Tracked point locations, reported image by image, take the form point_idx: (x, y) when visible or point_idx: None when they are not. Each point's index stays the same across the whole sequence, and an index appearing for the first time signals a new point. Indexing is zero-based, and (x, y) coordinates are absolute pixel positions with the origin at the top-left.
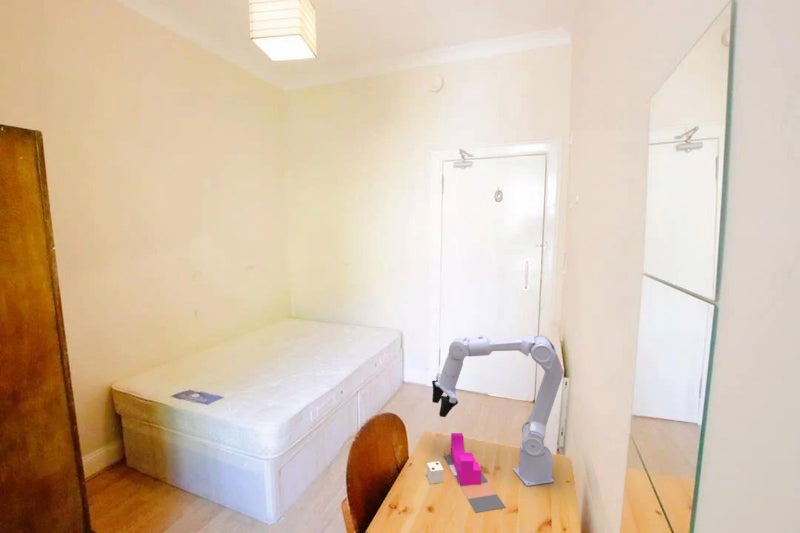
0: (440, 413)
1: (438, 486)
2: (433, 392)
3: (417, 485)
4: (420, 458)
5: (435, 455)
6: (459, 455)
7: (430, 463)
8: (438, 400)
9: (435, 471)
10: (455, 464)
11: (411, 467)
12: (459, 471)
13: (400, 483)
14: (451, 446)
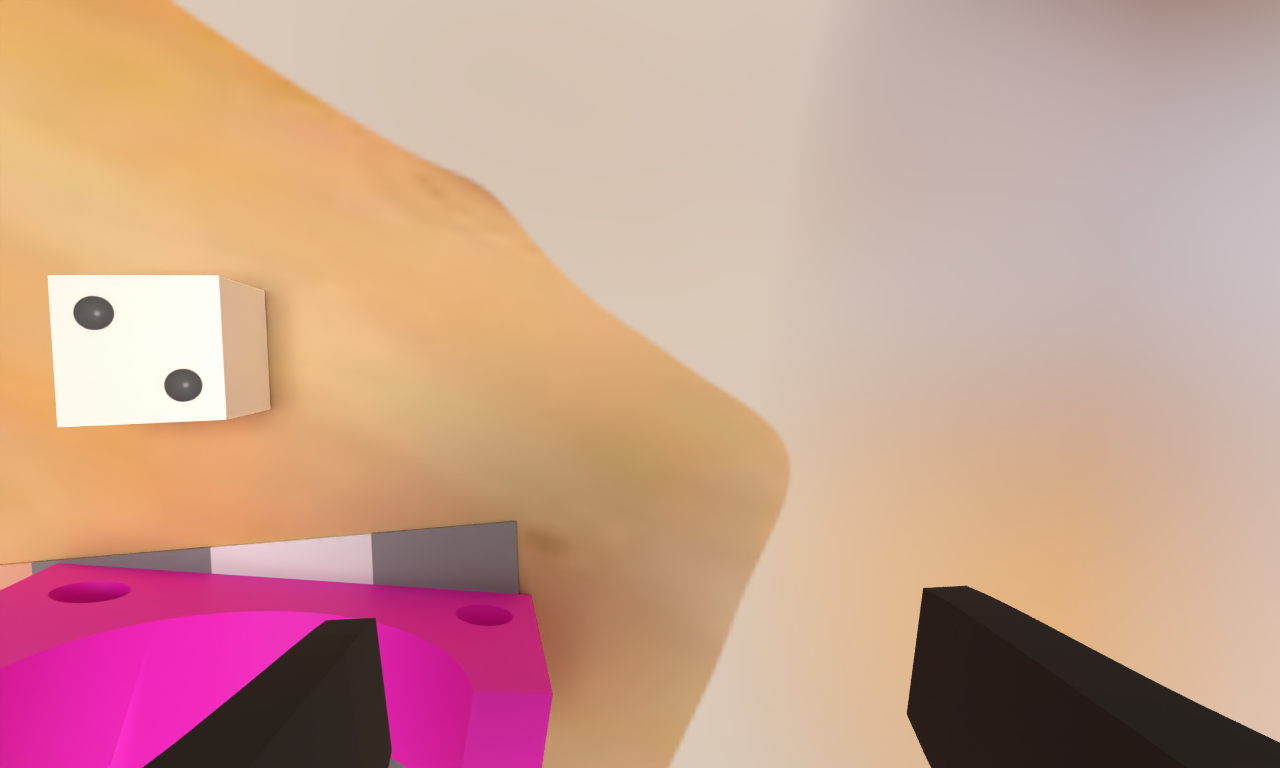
0: (268, 669)
1: None
2: (1219, 750)
3: (128, 163)
4: (518, 302)
5: (539, 451)
6: None
7: (200, 311)
8: (946, 762)
9: (56, 329)
10: (290, 595)
11: (402, 183)
12: (48, 601)
13: (185, 15)
14: (508, 629)
